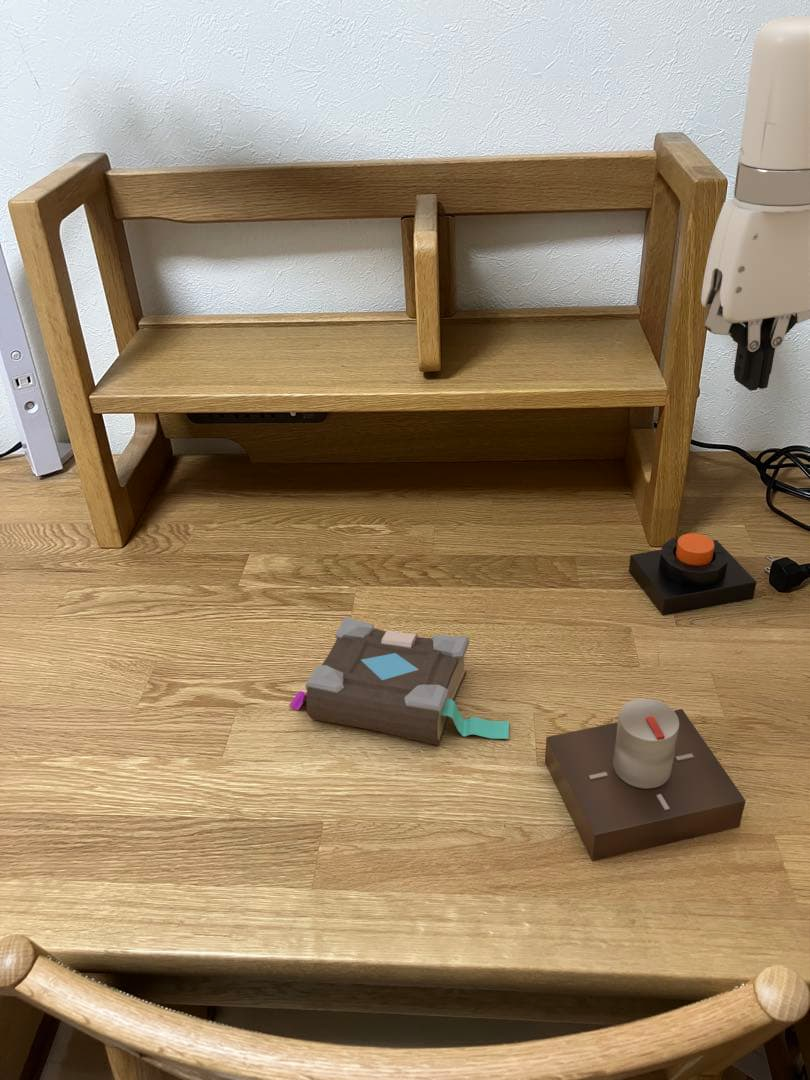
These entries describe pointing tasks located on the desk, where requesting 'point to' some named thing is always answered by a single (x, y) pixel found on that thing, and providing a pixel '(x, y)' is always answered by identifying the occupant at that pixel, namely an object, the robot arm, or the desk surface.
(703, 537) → the button
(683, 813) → the panel
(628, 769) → the knob
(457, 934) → the desk surface
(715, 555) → the button block
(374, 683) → the book
